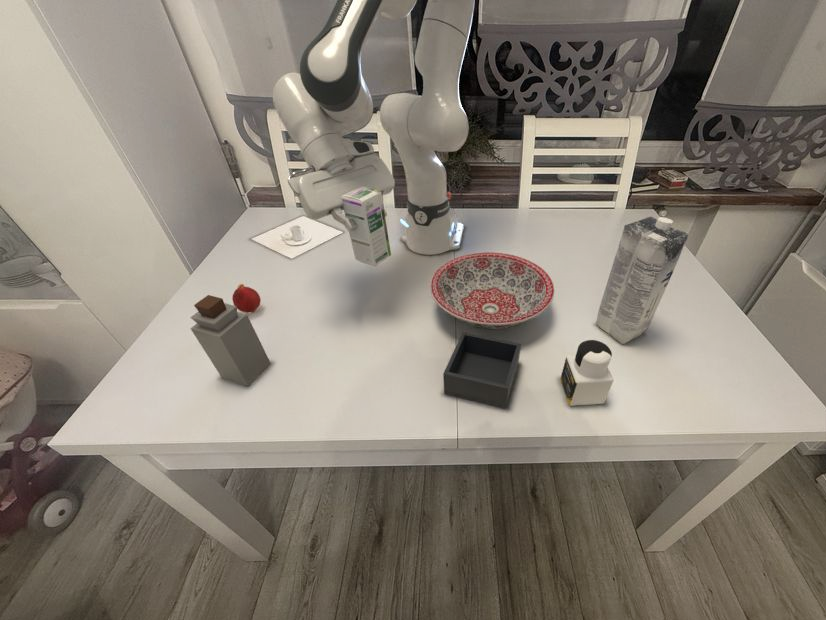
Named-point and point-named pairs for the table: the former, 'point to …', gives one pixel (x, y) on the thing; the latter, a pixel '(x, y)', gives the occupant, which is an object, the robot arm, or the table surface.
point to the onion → (246, 299)
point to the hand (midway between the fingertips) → (368, 223)
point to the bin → (482, 369)
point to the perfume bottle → (229, 340)
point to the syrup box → (367, 225)
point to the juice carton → (639, 276)
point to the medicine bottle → (587, 374)
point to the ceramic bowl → (492, 289)
